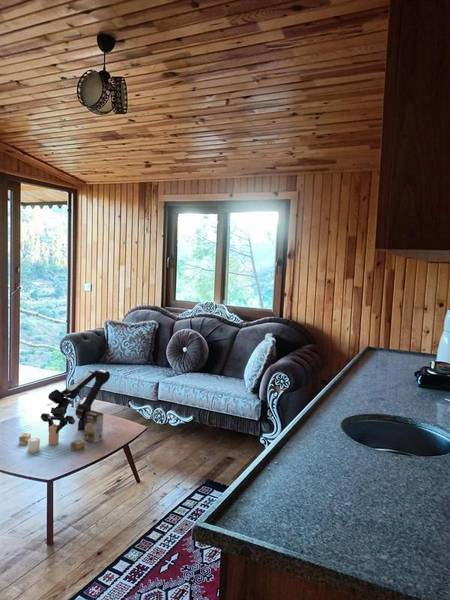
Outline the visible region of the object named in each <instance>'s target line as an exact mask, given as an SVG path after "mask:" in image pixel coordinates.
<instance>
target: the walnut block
mask: <svg viewBox="0 0 450 600" xmlns="http://www.w3.org/2000/svg"><path fill="white" fill-rule="evenodd" d="M70 450H71V451H73V452H77V453H79V452H81V451H83V450H85V440H81V439H75V440H73V441H71V443H70Z"/></svg>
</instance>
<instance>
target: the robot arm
mask: <svg viewBox="0 0 450 600" xmlns="http://www.w3.org/2000/svg"><path fill="white" fill-rule="evenodd" d="M110 378H111V373H110V371H107V370H104V369H99V370H94V369H90V370H89V371H88V372H87V373H86V374H85V375H84V376H83V377H82V378H80V379H79V380H78V381H77V382H76V383H74V384H71V385H69V386H67V387H66V388H65V389H64V390H61V391H60V390H59V389H56V388H55V389H54V390H53V391H51V392H49V394H48V396H47V398H48V399H49V400H50V401H52V402H53V403H54V404H56V405H57V406H55V407H51V409H50V413H45V412H44V413H42V414H41V415H40V419H41V420H42V422H46V423H48V428H49V427H50V426H51V425H53V424H55V423H54V421H59V424H58V425H59V426H58V428H57V431H56V433H58V432H59V433H60V431H61V430H63V428H64V427H66V426H68V425H75V423H76V419H75V418H74V417H73V415H66V414H67V413H68V411H67V410H68V407H69V405H70V404H71V405H72V404H73V402H72V400H74V399H77V397H78V396H79V394H80V392H81V390H82V389H83V388H85V387H86V386H87V385H88V384H89V383H90V382H91V381H92V380H93V379H94V380H95V382H94V383H93V385H92V387H91V389H90V390H89V393H88V394H87V396H86V398H85V400H84V402H83V403H79V404H78V405H77V407H76V408H75V416H76V417H77V419H78V422H77V431H83V432H84V426H85V413H87V412H89V411H92V405H93V403H94V401H95V399H96V398H97V396H98V394H99V392H100V390H101V388H102V386H103V385H104V384H106V383H107V382H108V381H109V379H110ZM50 414H52V415H50Z"/></svg>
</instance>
